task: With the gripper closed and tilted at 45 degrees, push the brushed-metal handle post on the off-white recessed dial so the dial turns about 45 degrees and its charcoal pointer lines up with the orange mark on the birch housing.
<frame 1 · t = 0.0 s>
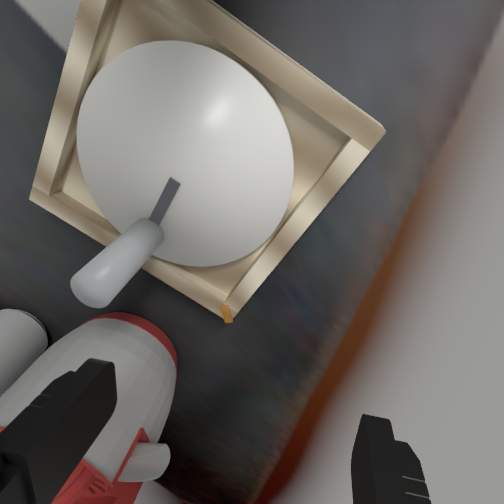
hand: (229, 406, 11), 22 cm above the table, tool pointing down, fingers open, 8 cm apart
citrus juicer: (141, 346, 45), on the table
can: (27, 326, 47), on the table
dial: (161, 186, 25), point 7 cm above the table, hinge at 0.0°
dial housing: (193, 160, 31), on the table
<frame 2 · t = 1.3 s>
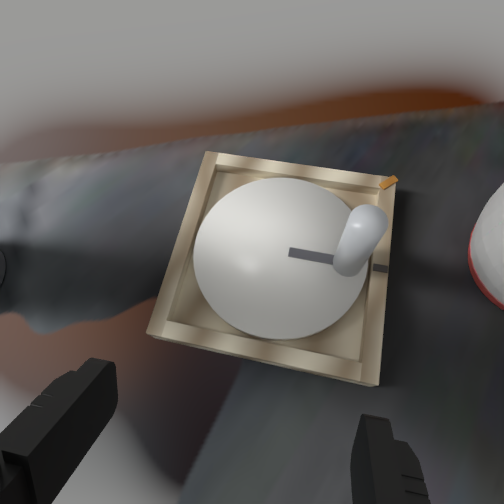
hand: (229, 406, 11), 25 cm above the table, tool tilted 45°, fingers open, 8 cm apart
dial: (279, 234, 34), point 7 cm above the table, hinge at 0.0°
dial housing: (279, 261, 40), on the table
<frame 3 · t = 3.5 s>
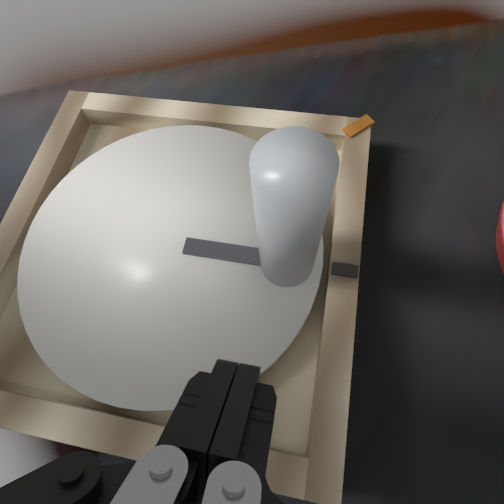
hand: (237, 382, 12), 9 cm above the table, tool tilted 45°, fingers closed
dial: (147, 211, 18), point 7 cm above the table, hinge at 0.0°
dial housing: (181, 262, 24), on the table
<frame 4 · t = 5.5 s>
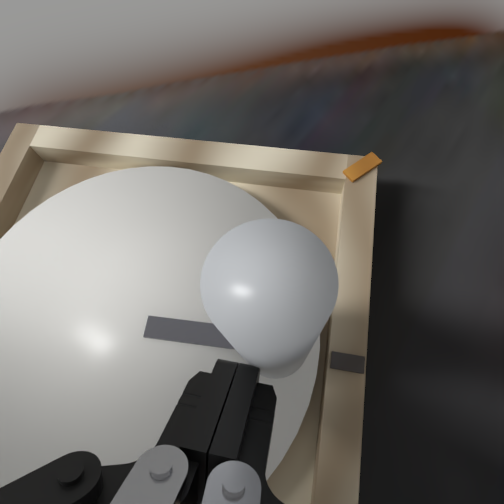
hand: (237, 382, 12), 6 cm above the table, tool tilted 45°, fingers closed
dial: (86, 303, 13), point 7 cm above the table, hinge at 2.4°, touching gripper
dial housing: (148, 335, 20), on the table
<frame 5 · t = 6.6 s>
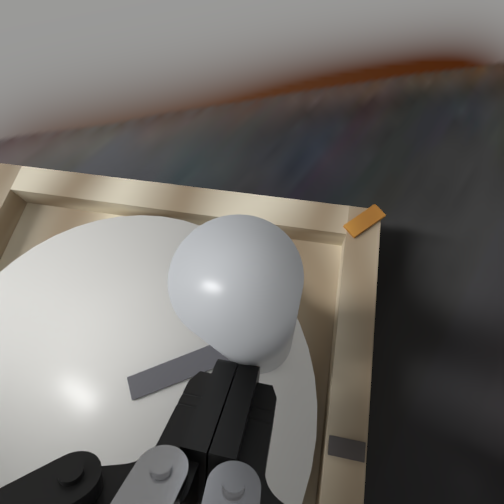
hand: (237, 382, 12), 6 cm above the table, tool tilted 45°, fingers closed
dial: (59, 397, 12), point 7 cm above the table, hinge at 31.1°, touching gripper
dial housing: (134, 397, 18), on the table
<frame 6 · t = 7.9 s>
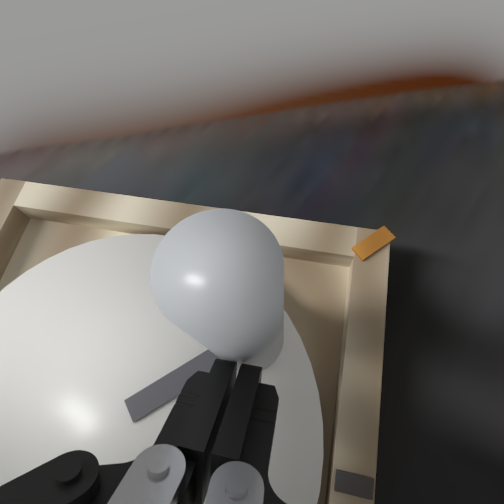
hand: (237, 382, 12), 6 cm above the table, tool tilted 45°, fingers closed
dial: (57, 430, 12), point 7 cm above the table, hinge at 42.0°, touching gripper
dial housing: (135, 421, 18), on the table
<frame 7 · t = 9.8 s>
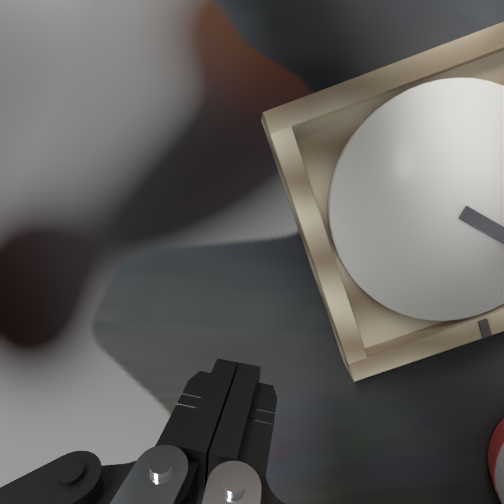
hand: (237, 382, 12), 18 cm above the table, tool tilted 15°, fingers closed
dial: (483, 207, 23), point 7 cm above the table, hinge at 42.0°
dial housing: (430, 204, 30), on the table
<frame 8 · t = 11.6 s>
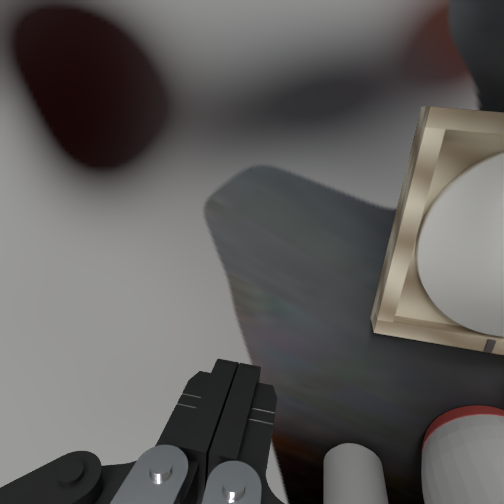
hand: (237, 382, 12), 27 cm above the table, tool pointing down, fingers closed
citrus juicer: (481, 437, 43), on the table
can: (351, 458, 48), on the table
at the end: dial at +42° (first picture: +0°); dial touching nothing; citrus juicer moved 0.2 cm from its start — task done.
